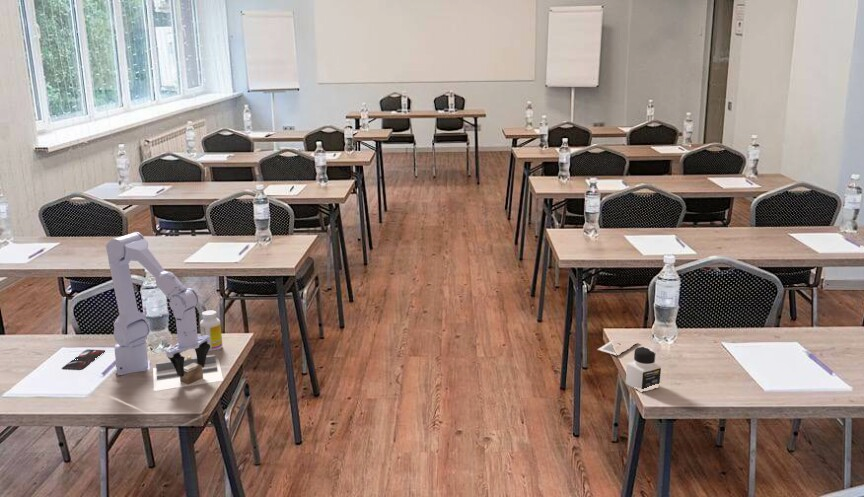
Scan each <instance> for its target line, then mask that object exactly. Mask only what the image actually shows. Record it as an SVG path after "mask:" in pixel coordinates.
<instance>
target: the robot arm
mask: <svg viewBox="0 0 864 497" xmlns="http://www.w3.org/2000/svg"><path fill="white" fill-rule="evenodd" d="M105 249H106V254H107V259H108V260H107V261H108V266H109V271H110V274H111V280H112V284H113V289H114V295H115V297H116V298H115V299H116V303H117V308H118V313H119V314H118V316H117V318H116V319H115V321H114V322H113V327H114V328H113V329H114V330H113V338H114V340H115V342H116V343H115V344H114V356H115V368H116V373H117V376H123V375H128V374H132V373H137V372H145V371H150V369H151V367H150V364H151V360H150V359H148V351H147V340H148V335H150V333H151V327H150V324H149V322H148V321H147V318H146V314H144V313H142V312H141V311H139V308H138V304H137V298H136V294H135V290H134V289H135V288H134V284H133V280H132V273H131V269H130V265H129V263H130V262H131V261H133V262H138V263H139V264H140V265H141V266H142V267H143V268H144V269H145V270H146V271H148V272H149V274H151V276H153V277H154V278H155V285H156V286H157V287H158V289H159V290H160V291H161V292H162V293H163V295H165V296H166V298H167V299H168V300H169V302H168V305H169V307H170V310H172V313H173V316H174V318H175V324H176V327H175V328H176V334H177V343H176V344H175V345H173V346H172V347H170V348H168V349H166V350H165V354H166V357H167V358H168V359H169V361H171V362H172V364H173V365H174V367H175V369H176V372H177V375H178V376H181V377H183V376H184V367H183V366H184V359H186V358H185V356H182V354H181V353H184V352H186V351H190V350H194V352H195V354H196V357H197V363H198V364H199V365H202V368H203V367H204V366H205V360H206V356H208V352H209V349H210V344H207V343H209V342H210V336H207V335H204V336H201V335H200V336H198V328H197V327H198V326H197V315H196V306H197V305H198V303H199V296H198V294H197V292H196V291H195V289H193V288H190V287H188V286H186V285H184V284H183V283H182V282H181V281H180V279H178V277H177V276H176V275H175V274H174V273H173V272H172V271H168V270H165V269H164V267H163V266H162V265H161V263H160V262H159V261H158V260H157V259H156V257H155V255H154V254H153V253H152V252H151V251H150V249H149V242H148V240H147V239H146V238H145V237H144V235H142V233H141V232H138V231H134V232H131V233H129V234H125V235H122V236H118V237H116V238H115V237H114V238H111V239H110V240H109V241H108V242H107V243H106V244H105Z"/></svg>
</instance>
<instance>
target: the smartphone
mask: <svg viewBox="0 0 864 497" xmlns="http://www.w3.org/2000/svg"><path fill="white" fill-rule="evenodd" d="M105 351H106V350H105V349H85V350H84V351H82V352H81V353H80V354H79V356H78V355H77V356H78V357H77V356H75V357H74V358H75V359H76V360H75V359H74V358H73V359H74V360H73V359H72V360H70V361H69V362H67V364H65V365H63V367H61V370H67V369H68V370H69V371H70V370H72V371H82V370H84V369H85V368H87V367H88V366H89V365H91V364H92V363H93V362H94V361H96V360H95V358H97V357H98V356H100V355H101V354H102V353H103V354H105V353H106V352H105ZM104 352H105V353H104ZM103 354H102V355H103ZM102 355H101V356H102ZM101 356H100V357H101ZM98 358H99V357H98ZM98 358H97V359H98ZM77 359H78V360H77ZM91 362H92V363H91ZM90 363H91V364H90ZM68 370H67V371H68Z"/></svg>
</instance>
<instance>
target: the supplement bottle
mask: <svg viewBox="0 0 864 497" xmlns="http://www.w3.org/2000/svg"><path fill="white" fill-rule="evenodd" d="M217 313H218V312H217V311H216V310H210V309H209V310H205V311H202V313H201V317H202V319H201V320H200V322H199V329H200V336H204V335H207V336H210V342H209V343H207V344H210V349H209V351H217V350H221V349H222V348H223V336H222V325H221V324H222V323H221V320H220V318H218V317H217ZM209 351H208V352H209Z"/></svg>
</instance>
